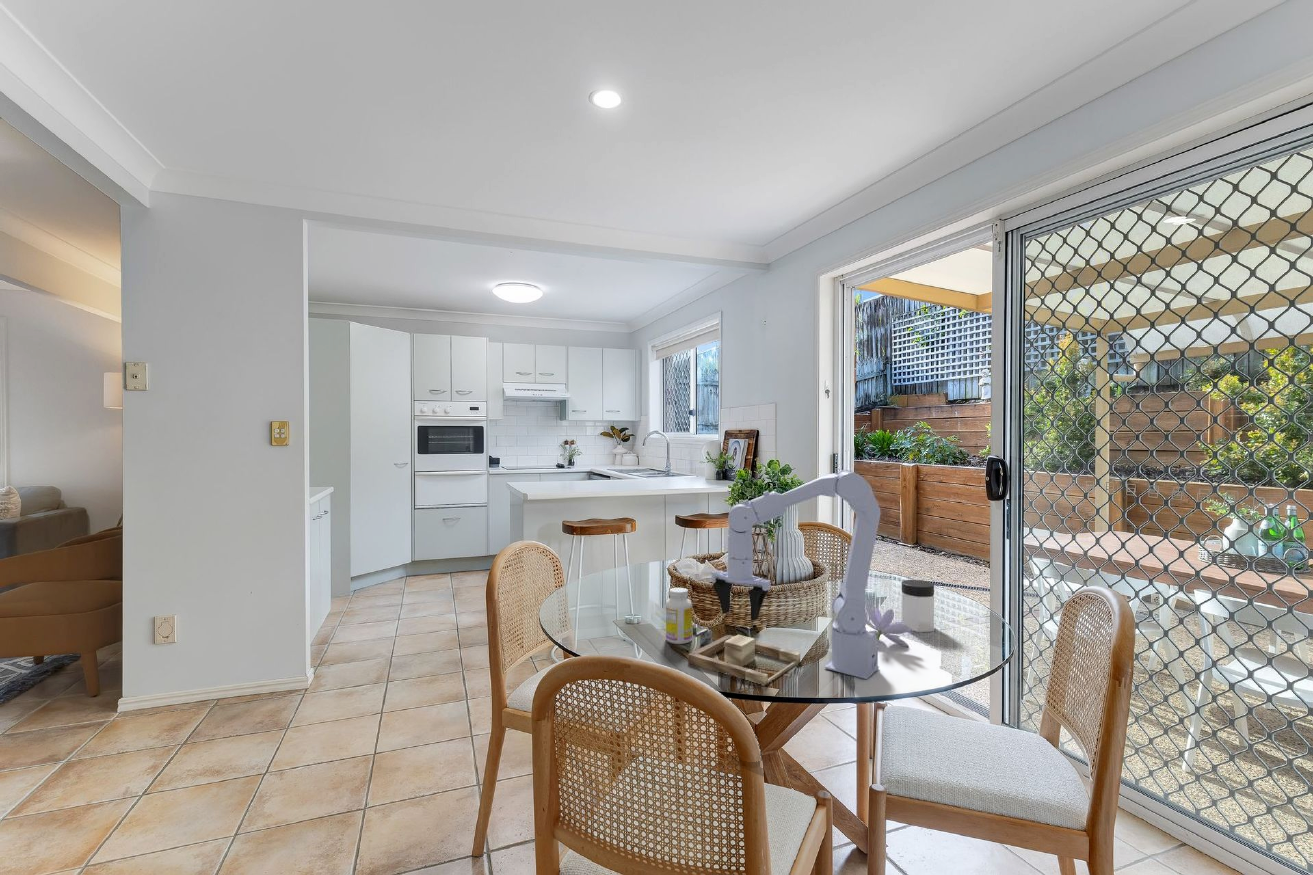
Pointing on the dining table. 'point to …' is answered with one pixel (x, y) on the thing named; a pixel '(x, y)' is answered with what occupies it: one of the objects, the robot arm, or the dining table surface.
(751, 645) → the beige cube
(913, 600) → the jar
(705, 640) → the winch
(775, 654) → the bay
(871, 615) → the water lily
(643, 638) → the dining table surface
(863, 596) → the robot arm
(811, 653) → the dining table surface
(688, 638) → the supplement bottle
